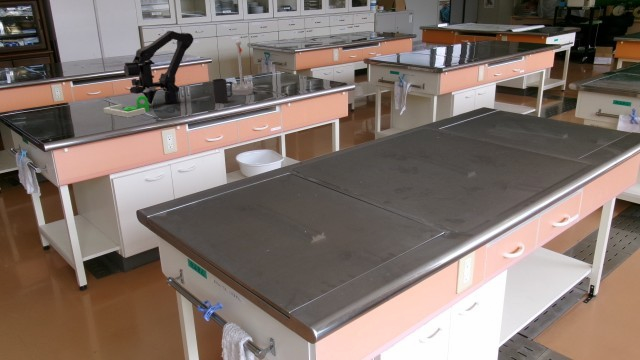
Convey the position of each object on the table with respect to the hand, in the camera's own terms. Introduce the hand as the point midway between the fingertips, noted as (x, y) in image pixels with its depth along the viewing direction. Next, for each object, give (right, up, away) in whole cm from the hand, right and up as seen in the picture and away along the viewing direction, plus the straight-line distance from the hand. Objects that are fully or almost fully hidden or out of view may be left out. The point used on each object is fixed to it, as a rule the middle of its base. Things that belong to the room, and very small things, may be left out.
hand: (150, 103), depth 276 cm
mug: (+38, +2, +7) cm, 38 cm away
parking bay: (-9, -6, -12) cm, 16 cm away
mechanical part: (-4, -5, -8) cm, 10 cm away
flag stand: (+44, +10, +27) cm, 53 cm away
